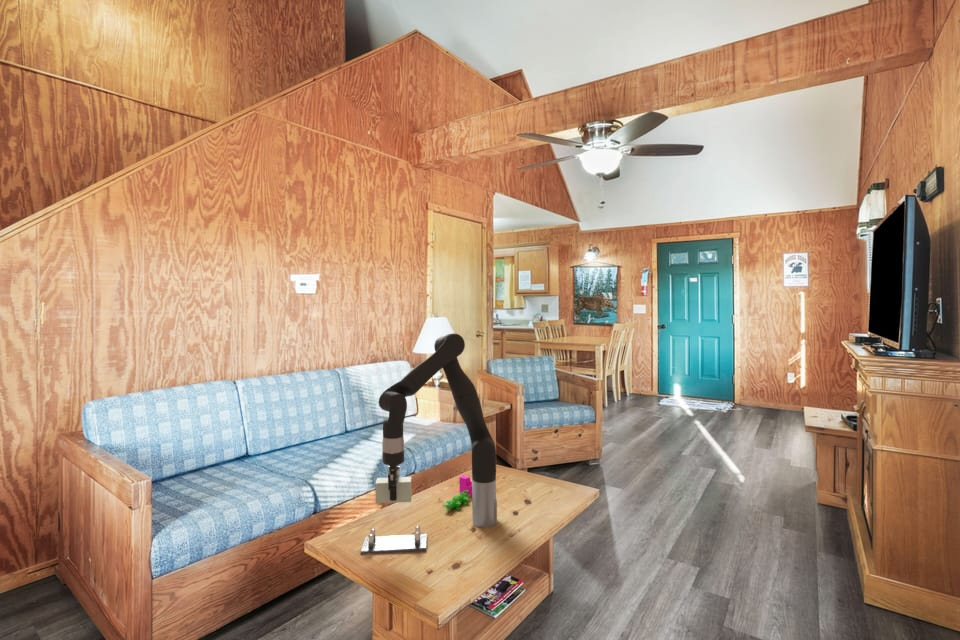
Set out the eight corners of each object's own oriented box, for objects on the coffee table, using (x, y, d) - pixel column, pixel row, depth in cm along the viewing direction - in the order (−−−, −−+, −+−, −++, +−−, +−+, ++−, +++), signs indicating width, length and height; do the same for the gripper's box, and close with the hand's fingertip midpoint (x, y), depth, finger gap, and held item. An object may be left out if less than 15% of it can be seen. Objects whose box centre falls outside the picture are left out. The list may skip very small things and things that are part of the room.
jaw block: (377, 497, 170) (377, 478, 169) (411, 496, 171) (411, 476, 171) (375, 503, 165) (375, 483, 164) (410, 501, 166) (410, 481, 166)
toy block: (470, 497, 210) (469, 480, 210) (459, 493, 214) (459, 476, 214) (491, 486, 221) (491, 470, 221) (481, 483, 225) (481, 467, 225)
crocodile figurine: (438, 511, 195) (438, 501, 195) (462, 496, 211) (462, 486, 211) (452, 515, 192) (452, 504, 192) (475, 499, 208) (475, 489, 208)
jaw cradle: (426, 537, 174) (426, 522, 174) (426, 551, 164) (425, 536, 164) (365, 540, 172) (364, 526, 172) (360, 554, 162) (360, 539, 162)
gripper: (384, 443, 174) (385, 489, 175) (379, 455, 160) (380, 506, 160) (405, 442, 174) (406, 488, 175) (402, 455, 160) (403, 505, 161)
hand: (394, 496), depth 168 cm, fingers closed on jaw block, 5 cm apart
